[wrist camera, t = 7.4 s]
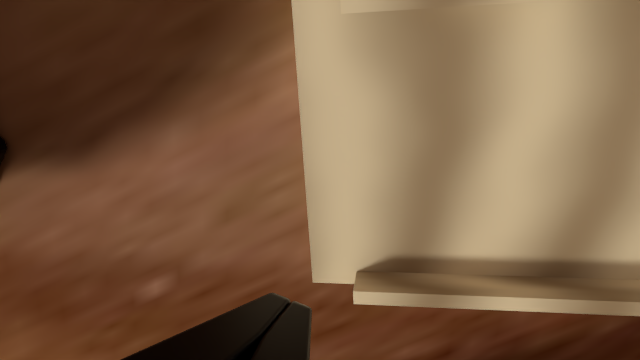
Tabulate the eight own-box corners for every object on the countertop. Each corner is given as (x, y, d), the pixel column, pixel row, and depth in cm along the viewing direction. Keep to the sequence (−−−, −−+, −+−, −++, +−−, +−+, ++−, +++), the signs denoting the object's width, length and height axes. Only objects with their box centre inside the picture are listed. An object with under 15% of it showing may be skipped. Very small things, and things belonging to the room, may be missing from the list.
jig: (317, 268, 23) (273, 401, 15) (297, -3, 19) (225, -6, 11) (867, 285, 19) (1177, 474, 11) (990, -50, 15) (1599, -105, 7)
